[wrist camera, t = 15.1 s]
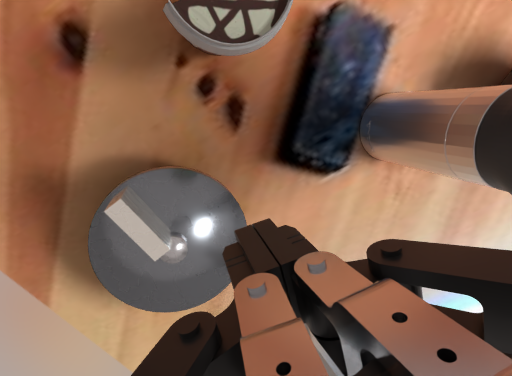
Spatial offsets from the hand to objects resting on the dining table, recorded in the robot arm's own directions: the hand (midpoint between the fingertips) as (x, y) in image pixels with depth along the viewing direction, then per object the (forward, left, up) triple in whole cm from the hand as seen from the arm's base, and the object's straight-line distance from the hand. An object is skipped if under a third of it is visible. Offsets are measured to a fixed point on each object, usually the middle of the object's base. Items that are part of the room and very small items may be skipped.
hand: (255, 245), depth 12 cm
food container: (-7, -12, -27) cm, 31 cm away
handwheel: (+6, +8, -24) cm, 26 cm away
